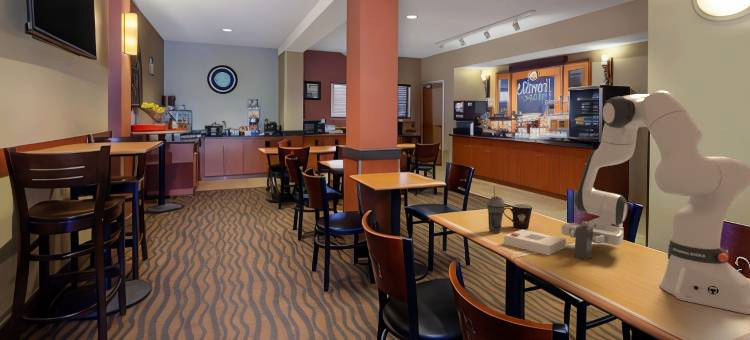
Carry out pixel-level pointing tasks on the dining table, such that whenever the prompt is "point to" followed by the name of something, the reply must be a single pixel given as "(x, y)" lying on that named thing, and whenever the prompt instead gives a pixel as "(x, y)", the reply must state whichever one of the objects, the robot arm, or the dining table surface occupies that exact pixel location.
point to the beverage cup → (495, 213)
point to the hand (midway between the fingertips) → (583, 237)
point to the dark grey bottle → (583, 241)
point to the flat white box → (535, 242)
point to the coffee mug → (520, 215)
